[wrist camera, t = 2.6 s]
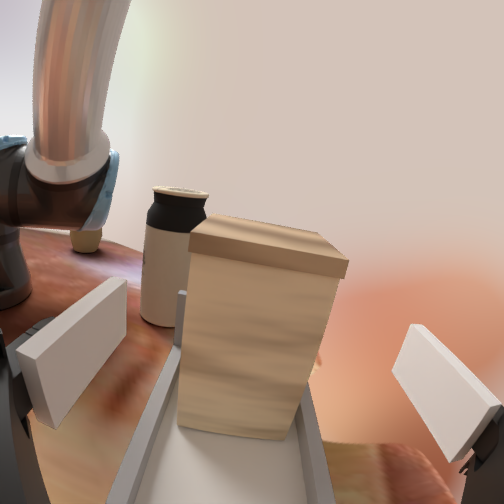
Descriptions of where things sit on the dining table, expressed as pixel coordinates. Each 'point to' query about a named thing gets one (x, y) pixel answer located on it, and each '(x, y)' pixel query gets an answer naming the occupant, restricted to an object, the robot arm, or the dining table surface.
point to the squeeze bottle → (86, 240)
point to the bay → (218, 455)
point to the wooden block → (252, 324)
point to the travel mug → (168, 251)
